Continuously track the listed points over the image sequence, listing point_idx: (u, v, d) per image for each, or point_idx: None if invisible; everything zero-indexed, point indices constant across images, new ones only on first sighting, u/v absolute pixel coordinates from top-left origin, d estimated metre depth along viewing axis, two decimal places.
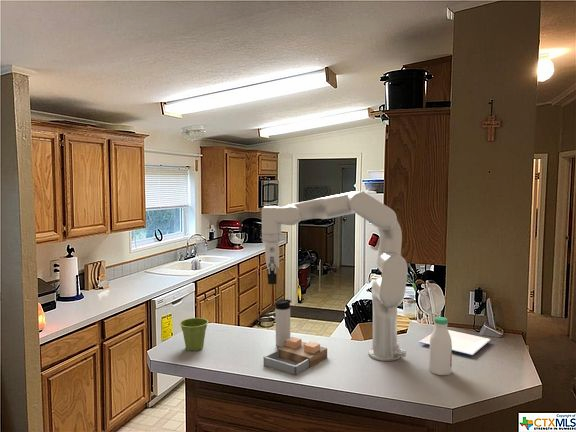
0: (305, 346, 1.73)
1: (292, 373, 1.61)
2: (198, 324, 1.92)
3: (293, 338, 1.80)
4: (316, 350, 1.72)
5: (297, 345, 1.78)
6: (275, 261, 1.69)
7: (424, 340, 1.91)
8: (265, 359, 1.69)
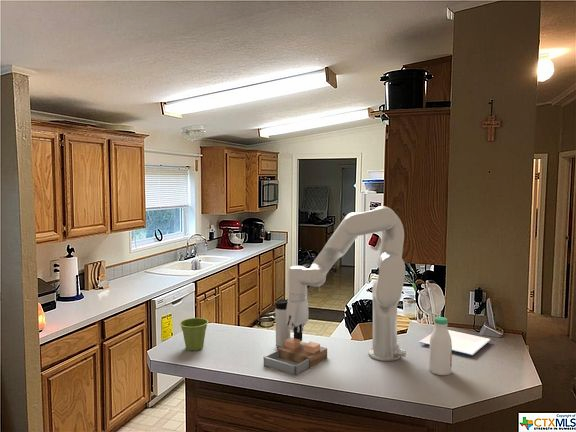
0: (305, 346, 1.73)
1: (292, 373, 1.61)
2: (198, 324, 1.92)
3: (292, 339, 1.80)
4: (316, 350, 1.72)
5: (296, 346, 1.77)
6: None
7: (424, 340, 1.91)
8: (265, 359, 1.69)
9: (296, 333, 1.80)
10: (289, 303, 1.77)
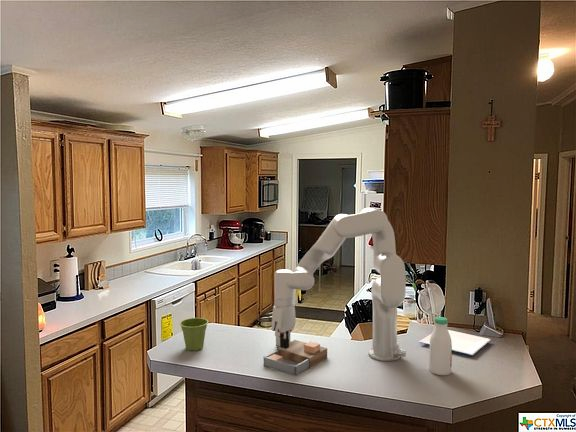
0: (305, 346, 1.73)
1: (292, 373, 1.61)
2: (198, 324, 1.92)
3: None
4: (316, 350, 1.72)
5: (280, 359, 1.69)
6: None
7: (424, 340, 1.91)
8: (265, 359, 1.69)
9: (282, 339, 1.73)
10: (275, 308, 1.70)
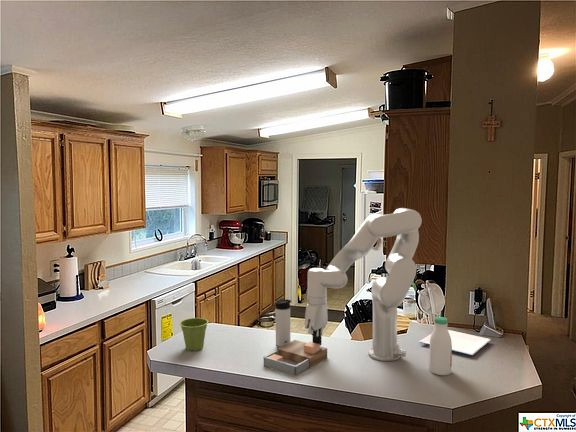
0: (305, 346, 1.73)
1: (292, 373, 1.61)
2: (198, 324, 1.92)
3: None
4: (316, 350, 1.72)
5: (280, 359, 1.69)
6: None
7: (424, 340, 1.91)
8: (265, 359, 1.69)
9: (315, 337, 1.75)
10: (308, 306, 1.72)
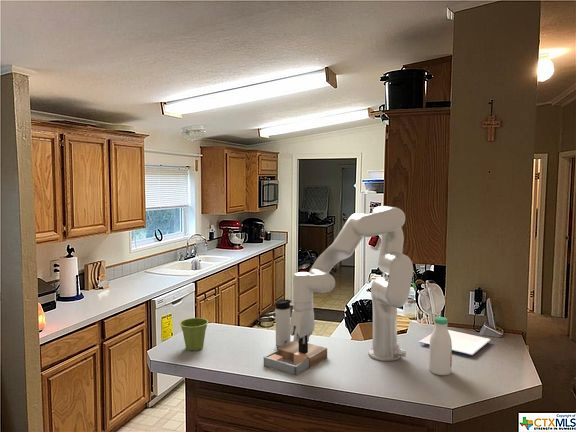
0: None
1: (292, 373, 1.61)
2: (198, 324, 1.92)
3: None
4: None
5: (280, 359, 1.69)
6: None
7: (424, 340, 1.91)
8: (265, 359, 1.69)
9: (301, 344, 1.68)
10: (294, 312, 1.65)
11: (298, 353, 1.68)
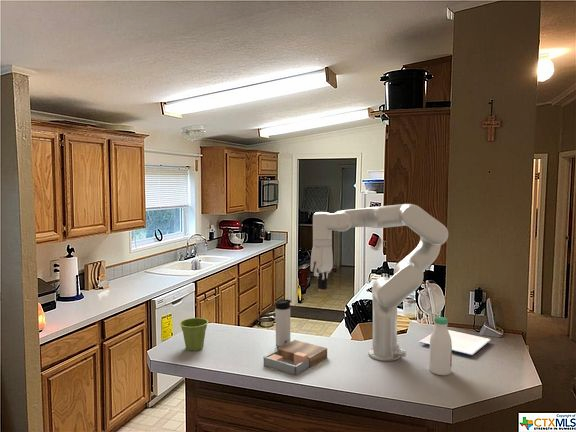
0: None
1: (292, 373, 1.61)
2: (198, 324, 1.92)
3: None
4: None
5: (280, 359, 1.69)
6: None
7: (424, 340, 1.91)
8: (265, 359, 1.69)
9: (321, 280, 1.76)
10: (314, 249, 1.74)
11: (298, 353, 1.68)
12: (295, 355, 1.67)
